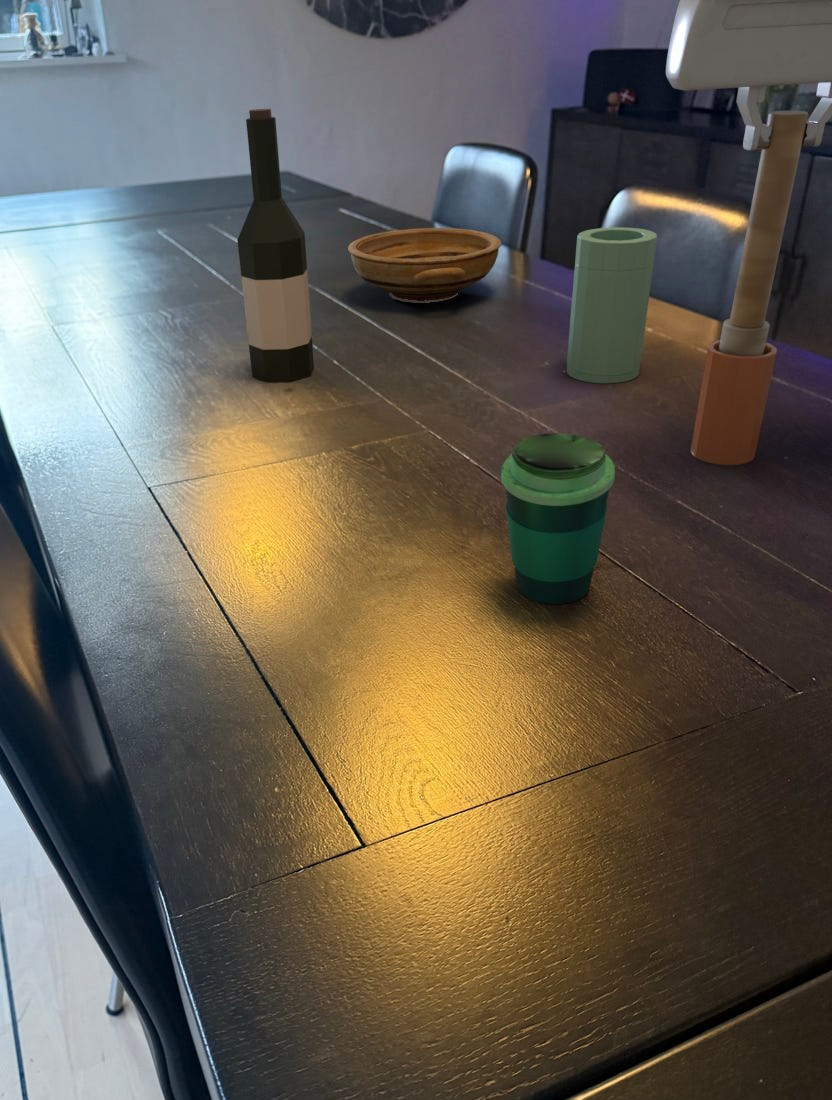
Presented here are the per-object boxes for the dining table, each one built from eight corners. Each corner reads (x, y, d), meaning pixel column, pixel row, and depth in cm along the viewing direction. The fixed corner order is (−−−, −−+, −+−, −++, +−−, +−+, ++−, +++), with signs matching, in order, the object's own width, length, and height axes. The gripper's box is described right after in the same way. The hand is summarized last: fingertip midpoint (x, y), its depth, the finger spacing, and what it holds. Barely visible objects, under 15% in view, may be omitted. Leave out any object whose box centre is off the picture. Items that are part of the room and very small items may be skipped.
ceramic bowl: (523, 312, 140) (526, 256, 135) (364, 325, 138) (362, 269, 133) (474, 268, 164) (475, 220, 160) (339, 280, 162) (336, 231, 158)
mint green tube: (626, 358, 120) (642, 225, 111) (648, 381, 112) (667, 240, 103) (558, 363, 119) (569, 229, 110) (576, 385, 112) (589, 244, 103)
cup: (619, 587, 73) (639, 443, 66) (565, 632, 68) (580, 482, 62) (532, 557, 78) (541, 420, 71) (475, 597, 73) (480, 454, 66)
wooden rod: (747, 368, 90) (801, 108, 77) (765, 382, 87) (824, 113, 74) (707, 370, 90) (754, 111, 77) (723, 385, 87) (775, 116, 74)
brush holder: (738, 444, 95) (760, 336, 89) (764, 468, 90) (788, 355, 84) (681, 448, 95) (698, 340, 89) (703, 472, 90) (723, 360, 84)
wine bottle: (258, 386, 117) (230, 115, 100) (246, 367, 124) (217, 110, 107) (322, 377, 119) (304, 109, 102) (306, 358, 126) (287, 104, 109)
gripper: (931, -64, 72) (882, 136, 80) (672, -50, 72) (648, 150, 80) (981, -70, 67) (924, 144, 75) (703, -55, 67) (674, 159, 74)
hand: (780, 148), depth 77 cm, fingers closed on wooden rod, 3 cm apart
